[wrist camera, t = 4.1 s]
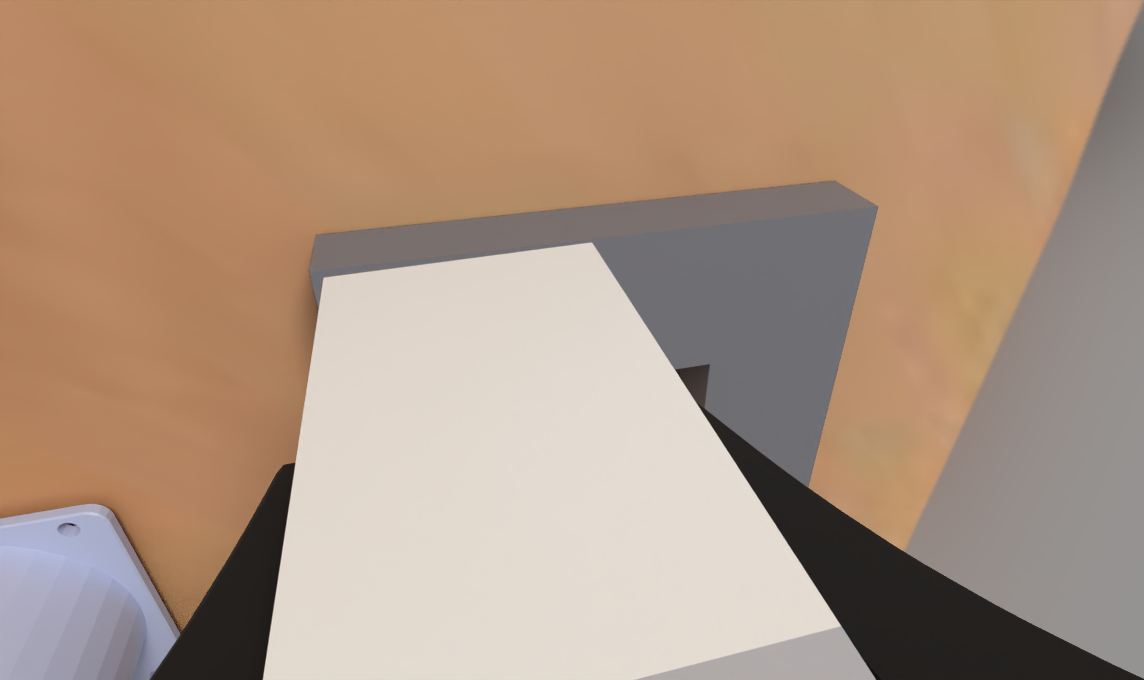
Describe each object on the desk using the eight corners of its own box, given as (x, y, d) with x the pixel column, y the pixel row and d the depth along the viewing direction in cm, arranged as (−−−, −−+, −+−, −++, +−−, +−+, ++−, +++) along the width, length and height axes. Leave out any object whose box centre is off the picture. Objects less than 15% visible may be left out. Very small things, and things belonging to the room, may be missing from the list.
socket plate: (403, 598, 24) (405, 666, 22) (315, 234, 16) (306, 284, 14) (763, 523, 26) (797, 576, 24) (834, 180, 19) (893, 215, 17)
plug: (376, 479, 12) (373, 1188, 5) (323, 277, 10) (206, 1059, 3) (594, 438, 13) (832, 1014, 6) (592, 241, 10) (960, 811, 4)
